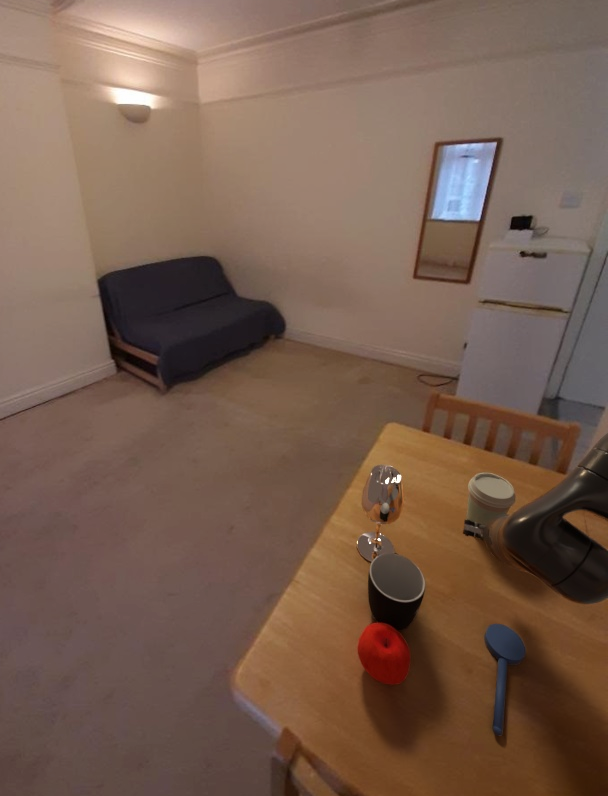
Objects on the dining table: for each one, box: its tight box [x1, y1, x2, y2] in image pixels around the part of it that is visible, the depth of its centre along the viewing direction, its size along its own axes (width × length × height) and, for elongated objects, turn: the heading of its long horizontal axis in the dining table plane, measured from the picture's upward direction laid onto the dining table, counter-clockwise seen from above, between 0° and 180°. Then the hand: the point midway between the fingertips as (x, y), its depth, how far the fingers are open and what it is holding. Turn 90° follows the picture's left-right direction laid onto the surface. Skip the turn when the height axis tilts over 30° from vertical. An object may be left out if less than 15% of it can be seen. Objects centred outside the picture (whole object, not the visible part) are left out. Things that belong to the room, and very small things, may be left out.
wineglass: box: [356, 464, 405, 563], centre depth 80 cm, size 8×8×20 cm
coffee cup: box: [465, 471, 516, 526], centre depth 85 cm, size 8×8×12 cm
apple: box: [357, 622, 411, 685], centre depth 63 cm, size 8×8×7 cm
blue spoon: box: [483, 623, 527, 737], centre depth 62 cm, size 16×6×1 cm, turn 147°
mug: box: [367, 552, 426, 632], centre depth 71 cm, size 12×9×10 cm
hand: (493, 535), depth 75 cm, fingers closed
